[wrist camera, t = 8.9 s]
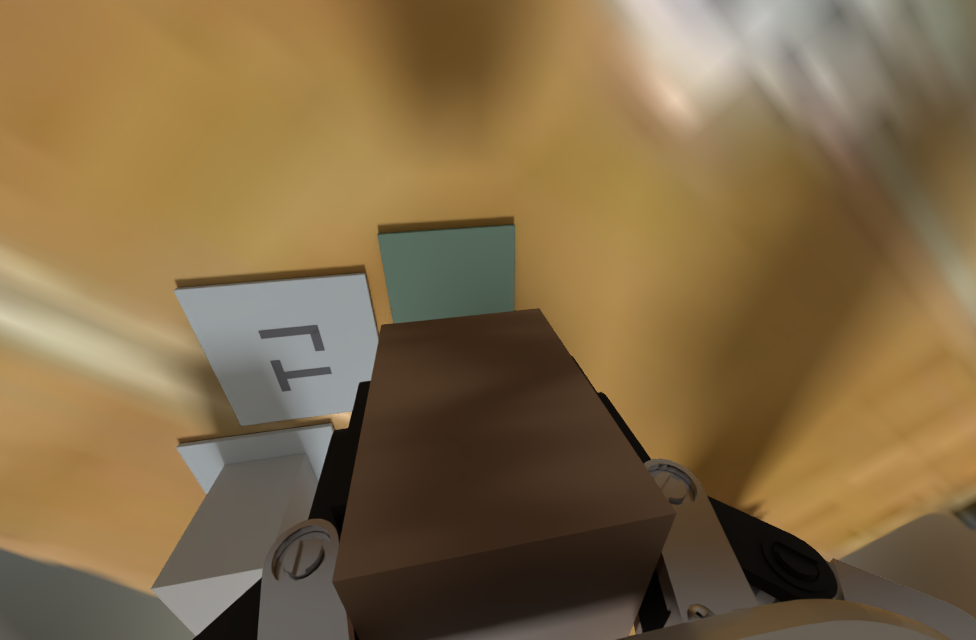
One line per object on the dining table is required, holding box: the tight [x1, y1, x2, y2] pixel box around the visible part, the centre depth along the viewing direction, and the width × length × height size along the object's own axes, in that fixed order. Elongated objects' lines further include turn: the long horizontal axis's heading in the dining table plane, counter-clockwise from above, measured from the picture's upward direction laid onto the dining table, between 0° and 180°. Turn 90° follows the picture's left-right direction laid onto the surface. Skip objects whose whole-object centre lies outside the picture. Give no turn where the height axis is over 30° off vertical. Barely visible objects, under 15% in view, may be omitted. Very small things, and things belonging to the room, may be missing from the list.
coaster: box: [378, 224, 515, 324], centre depth 20 cm, size 7×7×1 cm
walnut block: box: [332, 308, 677, 640], centre depth 9 cm, size 5×5×7 cm
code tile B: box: [176, 423, 334, 495], centre depth 24 cm, size 9×9×1 cm
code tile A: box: [173, 273, 379, 426], centre depth 20 cm, size 9×9×1 cm
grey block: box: [151, 453, 318, 636], centre depth 21 cm, size 5×5×7 cm
